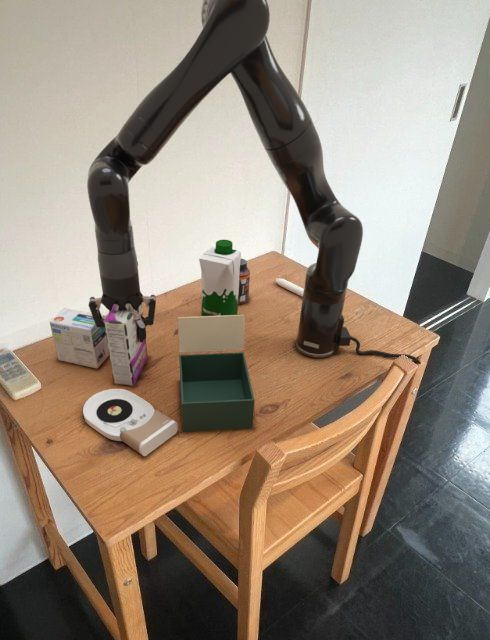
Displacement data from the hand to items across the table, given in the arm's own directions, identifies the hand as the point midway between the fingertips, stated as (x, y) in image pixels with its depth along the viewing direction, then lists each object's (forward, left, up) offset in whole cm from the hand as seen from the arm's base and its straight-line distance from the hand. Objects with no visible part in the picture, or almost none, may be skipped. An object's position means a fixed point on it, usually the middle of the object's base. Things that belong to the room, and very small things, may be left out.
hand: (127, 340), depth 112 cm
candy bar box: (0, 0, -8) cm, 8 cm away
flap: (-18, +5, +4) cm, 19 cm away
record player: (0, +17, -8) cm, 19 cm away
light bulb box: (+11, -6, -8) cm, 15 cm away
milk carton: (-22, -20, -8) cm, 31 cm away
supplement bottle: (-28, -30, -8) cm, 42 cm away
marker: (-45, -32, -8) cm, 56 cm away
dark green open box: (-18, +13, -8) cm, 24 cm away
